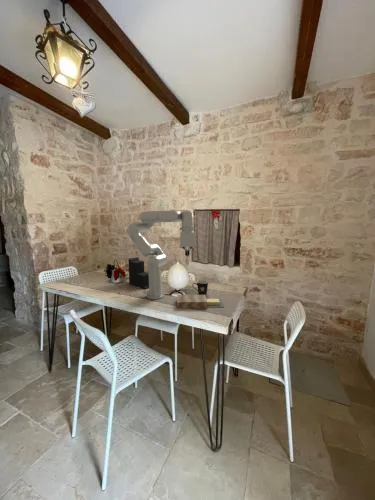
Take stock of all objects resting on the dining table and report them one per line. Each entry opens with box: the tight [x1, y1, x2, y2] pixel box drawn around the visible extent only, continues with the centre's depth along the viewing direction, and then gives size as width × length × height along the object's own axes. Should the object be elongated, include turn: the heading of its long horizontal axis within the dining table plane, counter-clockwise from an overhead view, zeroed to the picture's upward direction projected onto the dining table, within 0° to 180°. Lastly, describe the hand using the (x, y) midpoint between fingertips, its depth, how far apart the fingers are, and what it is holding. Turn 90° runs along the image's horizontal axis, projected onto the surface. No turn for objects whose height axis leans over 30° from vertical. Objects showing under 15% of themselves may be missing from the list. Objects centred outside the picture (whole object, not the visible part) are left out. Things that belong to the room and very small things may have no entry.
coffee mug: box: [191, 279, 209, 296], centre depth 171 cm, size 12×9×10 cm
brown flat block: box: [176, 294, 208, 309], centre depth 151 cm, size 20×14×4 cm
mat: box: [207, 298, 225, 309], centre depth 152 cm, size 11×14×1 cm
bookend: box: [128, 256, 149, 290], centre depth 192 cm, size 23×11×24 cm, turn 49°
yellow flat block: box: [206, 298, 220, 305], centre depth 152 cm, size 9×6×2 cm, turn 90°
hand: (187, 256), depth 150 cm, fingers closed
